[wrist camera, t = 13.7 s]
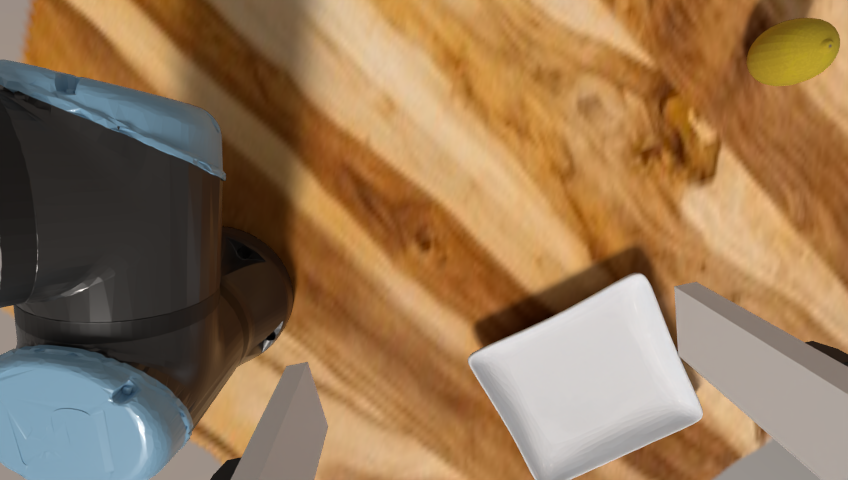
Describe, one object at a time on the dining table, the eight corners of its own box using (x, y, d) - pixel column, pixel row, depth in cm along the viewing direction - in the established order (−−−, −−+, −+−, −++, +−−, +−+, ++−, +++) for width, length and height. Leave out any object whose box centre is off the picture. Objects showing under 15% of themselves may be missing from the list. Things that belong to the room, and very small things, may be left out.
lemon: (727, 34, 42) (797, 15, 34) (784, 23, 42) (868, 1, 34) (727, 93, 44) (795, 88, 36) (782, 83, 44) (862, 74, 36)
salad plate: (691, 402, 54) (709, 420, 50) (535, 473, 56) (543, 495, 52) (629, 258, 48) (645, 268, 45) (460, 343, 51) (463, 358, 47)
